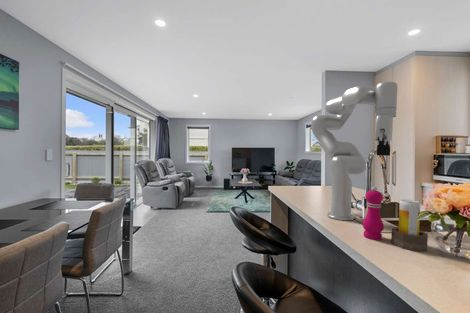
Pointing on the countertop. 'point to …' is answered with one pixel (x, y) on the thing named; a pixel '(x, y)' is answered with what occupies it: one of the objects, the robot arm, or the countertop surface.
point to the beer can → (409, 217)
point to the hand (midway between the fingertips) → (383, 155)
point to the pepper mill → (373, 215)
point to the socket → (409, 240)
